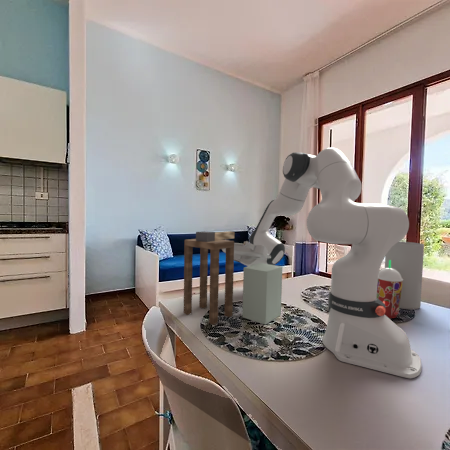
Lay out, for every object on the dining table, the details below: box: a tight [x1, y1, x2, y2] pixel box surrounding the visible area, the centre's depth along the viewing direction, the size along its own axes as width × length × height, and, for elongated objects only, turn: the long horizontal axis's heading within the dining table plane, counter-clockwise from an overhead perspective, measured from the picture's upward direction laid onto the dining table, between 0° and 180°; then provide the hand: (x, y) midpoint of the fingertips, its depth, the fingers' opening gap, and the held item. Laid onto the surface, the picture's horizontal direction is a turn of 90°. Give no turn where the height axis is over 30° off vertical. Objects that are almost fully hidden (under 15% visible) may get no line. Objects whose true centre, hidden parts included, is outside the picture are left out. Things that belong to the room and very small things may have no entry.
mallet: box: [195, 230, 235, 242], centre depth 93 cm, size 17×5×3 cm, turn 142°
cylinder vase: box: [384, 241, 425, 311], centre depth 104 cm, size 12×12×25 cm
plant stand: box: [183, 238, 235, 326], centre depth 90 cm, size 14×10×26 cm
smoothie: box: [377, 260, 403, 319], centre depth 93 cm, size 8×8×20 cm
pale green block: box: [242, 263, 283, 326], centre depth 90 cm, size 9×11×17 cm
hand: (235, 242), depth 102 cm, fingers open, 8 cm apart
